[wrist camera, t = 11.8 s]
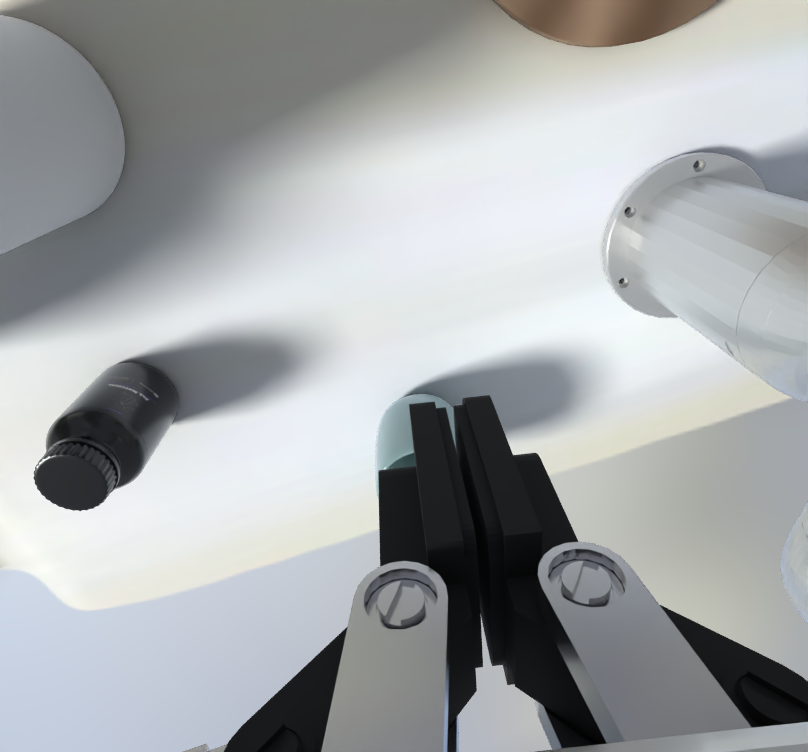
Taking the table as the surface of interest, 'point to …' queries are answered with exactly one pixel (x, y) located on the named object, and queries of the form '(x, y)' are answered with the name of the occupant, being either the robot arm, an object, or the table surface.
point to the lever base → (602, 19)
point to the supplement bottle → (106, 436)
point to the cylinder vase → (52, 134)
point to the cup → (402, 433)
